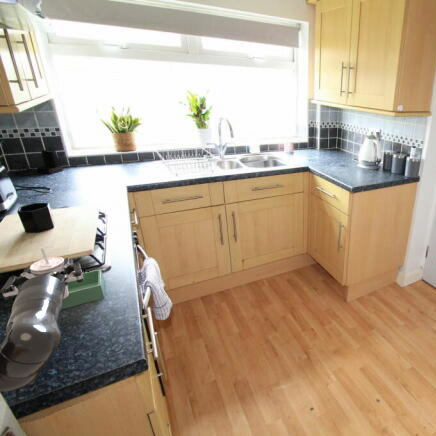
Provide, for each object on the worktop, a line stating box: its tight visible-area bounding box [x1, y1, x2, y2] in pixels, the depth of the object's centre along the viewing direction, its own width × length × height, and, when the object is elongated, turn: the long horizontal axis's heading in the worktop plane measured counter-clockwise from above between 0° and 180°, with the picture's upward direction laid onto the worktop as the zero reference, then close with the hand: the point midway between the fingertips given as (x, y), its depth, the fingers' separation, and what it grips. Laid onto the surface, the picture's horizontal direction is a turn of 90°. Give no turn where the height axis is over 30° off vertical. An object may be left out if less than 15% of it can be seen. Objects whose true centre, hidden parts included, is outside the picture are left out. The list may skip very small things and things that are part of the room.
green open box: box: [61, 268, 106, 311], centre depth 95 cm, size 10×10×5 cm
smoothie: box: [29, 247, 69, 298], centre depth 77 cm, size 6×6×14 cm
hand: (50, 264), depth 78 cm, fingers closed on smoothie, 6 cm apart
